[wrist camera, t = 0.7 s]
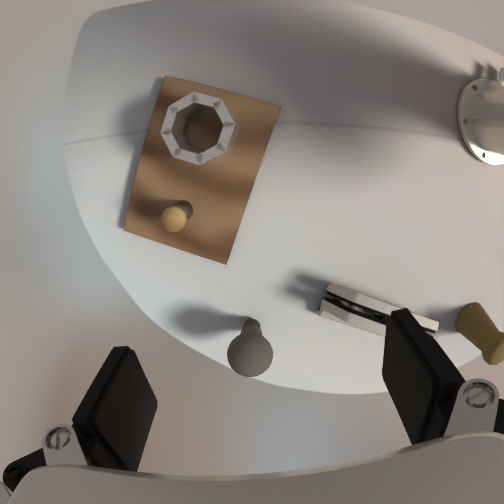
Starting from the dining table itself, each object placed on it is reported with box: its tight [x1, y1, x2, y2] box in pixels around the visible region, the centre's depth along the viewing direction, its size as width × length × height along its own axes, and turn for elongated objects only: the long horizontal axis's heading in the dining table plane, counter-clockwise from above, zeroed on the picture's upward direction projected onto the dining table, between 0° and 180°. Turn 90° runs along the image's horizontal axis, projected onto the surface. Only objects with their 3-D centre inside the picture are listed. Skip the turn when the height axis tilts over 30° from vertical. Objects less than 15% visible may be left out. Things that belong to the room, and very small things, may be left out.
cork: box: [456, 302, 504, 365], centre depth 38 cm, size 6×6×11 cm
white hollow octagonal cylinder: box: [161, 92, 240, 165], centre depth 31 cm, size 7×7×6 cm
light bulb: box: [227, 319, 273, 377], centre depth 39 cm, size 6×6×10 cm
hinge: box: [316, 283, 439, 338], centre depth 39 cm, size 17×5×10 cm, turn 69°
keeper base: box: [124, 76, 281, 265], centre depth 34 cm, size 20×14×7 cm
